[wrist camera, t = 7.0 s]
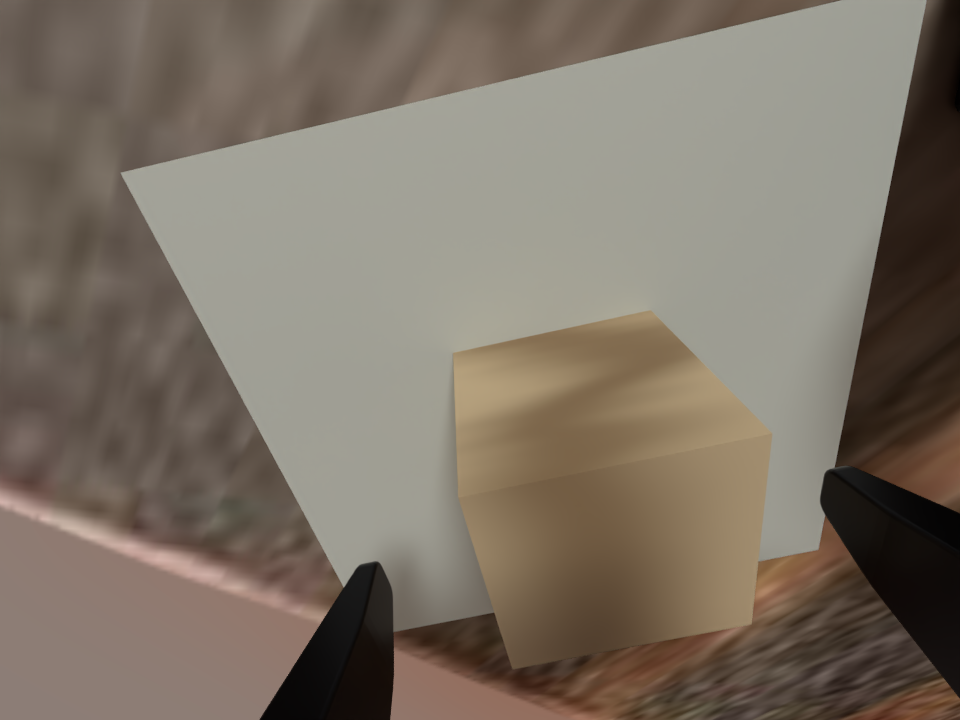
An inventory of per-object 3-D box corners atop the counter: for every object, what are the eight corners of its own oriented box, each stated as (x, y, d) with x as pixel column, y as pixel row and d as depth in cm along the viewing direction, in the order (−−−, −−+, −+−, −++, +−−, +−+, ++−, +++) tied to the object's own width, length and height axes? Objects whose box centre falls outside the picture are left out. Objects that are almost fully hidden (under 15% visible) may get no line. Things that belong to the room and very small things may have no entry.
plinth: (820, 6, 12) (930, -21, 9) (766, 488, 19) (818, 549, 17) (189, 157, 12) (120, 172, 10) (379, 565, 20) (370, 636, 17)
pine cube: (650, 310, 12) (772, 433, 7) (656, 462, 14) (751, 624, 10) (453, 352, 12) (458, 497, 8) (491, 496, 14) (512, 669, 10)
